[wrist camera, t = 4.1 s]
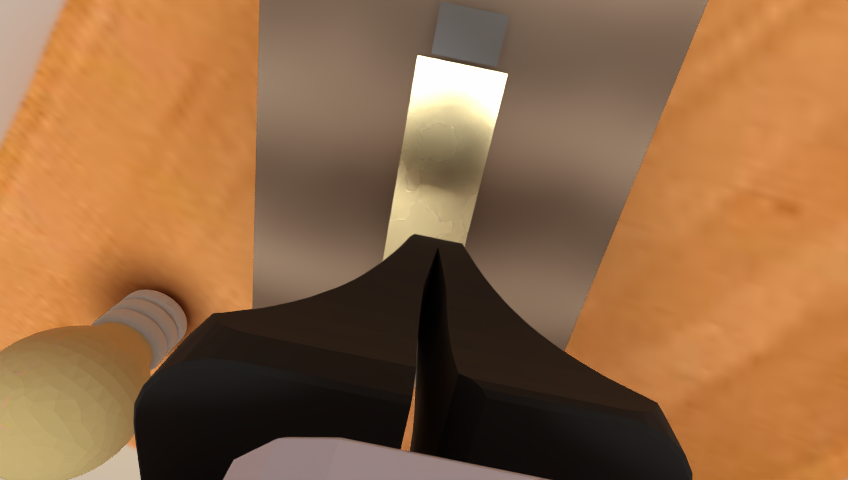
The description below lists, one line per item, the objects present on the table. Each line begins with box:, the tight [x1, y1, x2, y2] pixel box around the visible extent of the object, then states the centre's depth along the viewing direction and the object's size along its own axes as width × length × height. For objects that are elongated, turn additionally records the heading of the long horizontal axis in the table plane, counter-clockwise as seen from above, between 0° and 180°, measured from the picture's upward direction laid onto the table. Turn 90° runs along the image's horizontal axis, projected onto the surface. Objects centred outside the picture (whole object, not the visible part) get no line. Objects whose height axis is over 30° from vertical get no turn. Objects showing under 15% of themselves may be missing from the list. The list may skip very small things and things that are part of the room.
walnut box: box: [252, 0, 708, 388], centre depth 18 cm, size 18×14×6 cm
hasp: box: [383, 55, 508, 261], centre depth 17 cm, size 11×3×1 cm, turn 169°
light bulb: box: [0, 289, 187, 480], centre depth 21 cm, size 6×6×10 cm
